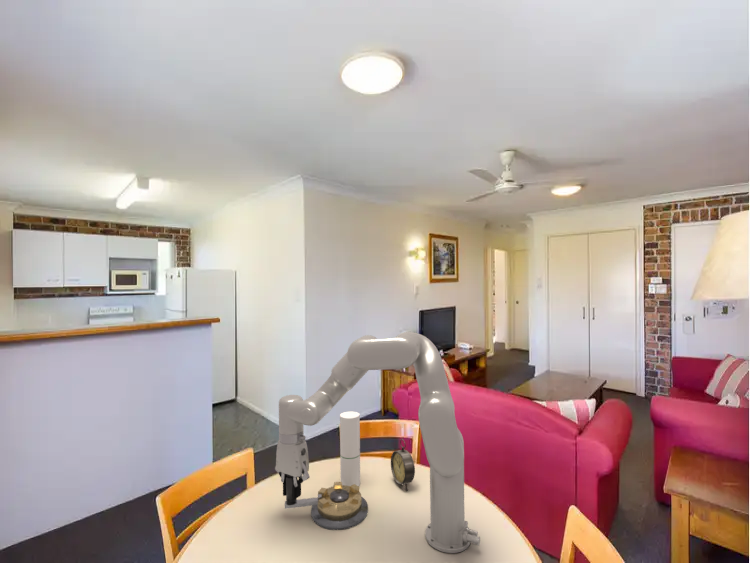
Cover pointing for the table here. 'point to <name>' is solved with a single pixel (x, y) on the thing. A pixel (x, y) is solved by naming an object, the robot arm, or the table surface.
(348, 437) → the cylindrical container
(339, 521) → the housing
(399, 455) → the alarm clock
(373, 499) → the table surface
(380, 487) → the table surface
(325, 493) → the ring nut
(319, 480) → the table surface
